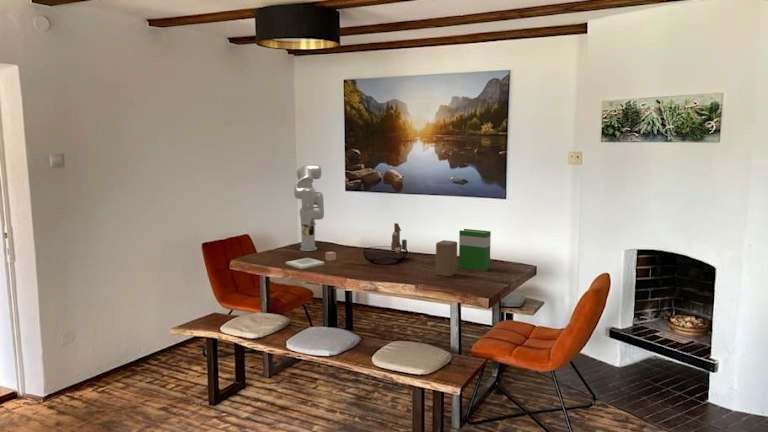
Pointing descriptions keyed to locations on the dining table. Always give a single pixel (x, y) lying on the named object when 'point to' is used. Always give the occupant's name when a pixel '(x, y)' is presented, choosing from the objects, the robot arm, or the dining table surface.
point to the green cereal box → (474, 249)
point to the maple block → (306, 231)
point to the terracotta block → (330, 256)
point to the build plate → (305, 263)
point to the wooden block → (446, 258)
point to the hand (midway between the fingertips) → (308, 234)
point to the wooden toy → (397, 240)
